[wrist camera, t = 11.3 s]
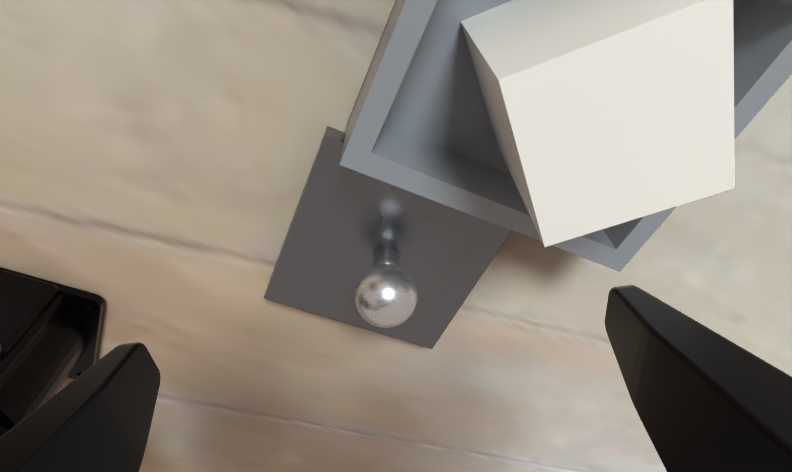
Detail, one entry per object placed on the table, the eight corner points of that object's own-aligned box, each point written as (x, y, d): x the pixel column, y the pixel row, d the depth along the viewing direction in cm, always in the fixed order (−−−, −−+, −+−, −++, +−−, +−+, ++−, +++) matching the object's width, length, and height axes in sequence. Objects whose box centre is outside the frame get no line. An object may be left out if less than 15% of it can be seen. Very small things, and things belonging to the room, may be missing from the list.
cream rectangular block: (626, 100, 18) (734, 188, 13) (498, 146, 19) (544, 247, 14) (607, -40, 16) (733, -11, 10) (460, 21, 17) (498, 79, 11)
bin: (585, 217, 22) (619, 271, 19) (347, 121, 20) (339, 165, 16) (766, -21, 17) (859, -4, 14) (474, -198, 14) (499, -231, 11)
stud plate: (430, 335, 26) (438, 412, 22) (268, 284, 24) (243, 360, 20) (518, 202, 22) (547, 268, 18) (327, 126, 20) (311, 182, 16)
